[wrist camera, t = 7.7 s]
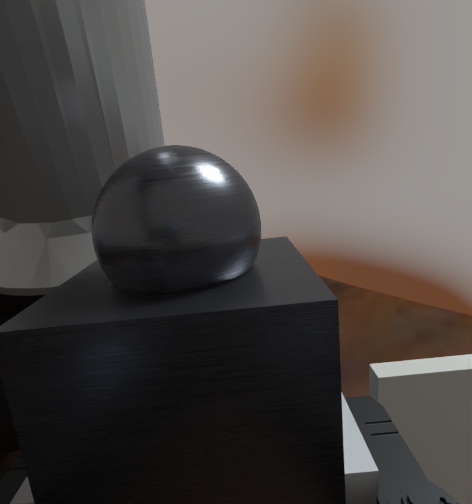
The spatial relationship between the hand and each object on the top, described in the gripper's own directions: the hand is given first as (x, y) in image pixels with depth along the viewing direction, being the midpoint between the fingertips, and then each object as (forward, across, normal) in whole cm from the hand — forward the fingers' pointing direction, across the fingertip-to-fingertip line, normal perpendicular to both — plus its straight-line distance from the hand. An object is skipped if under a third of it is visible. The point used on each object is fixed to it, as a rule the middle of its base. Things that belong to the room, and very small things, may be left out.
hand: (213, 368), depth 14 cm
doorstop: (-4, 0, -10) cm, 11 cm away
